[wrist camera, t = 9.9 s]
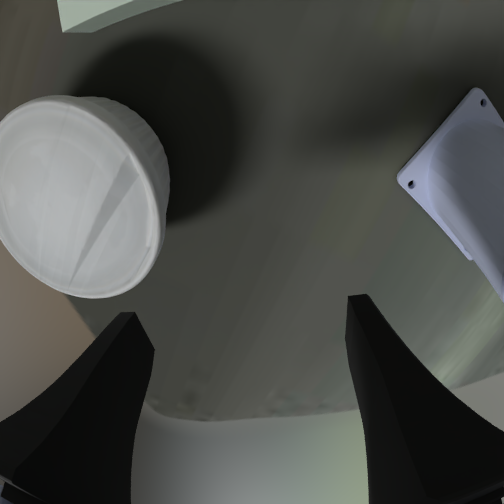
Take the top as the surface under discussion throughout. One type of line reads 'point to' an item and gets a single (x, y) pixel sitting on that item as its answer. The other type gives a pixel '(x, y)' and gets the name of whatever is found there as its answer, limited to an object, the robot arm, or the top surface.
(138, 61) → the top surface
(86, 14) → the socket block
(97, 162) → the ramekin
